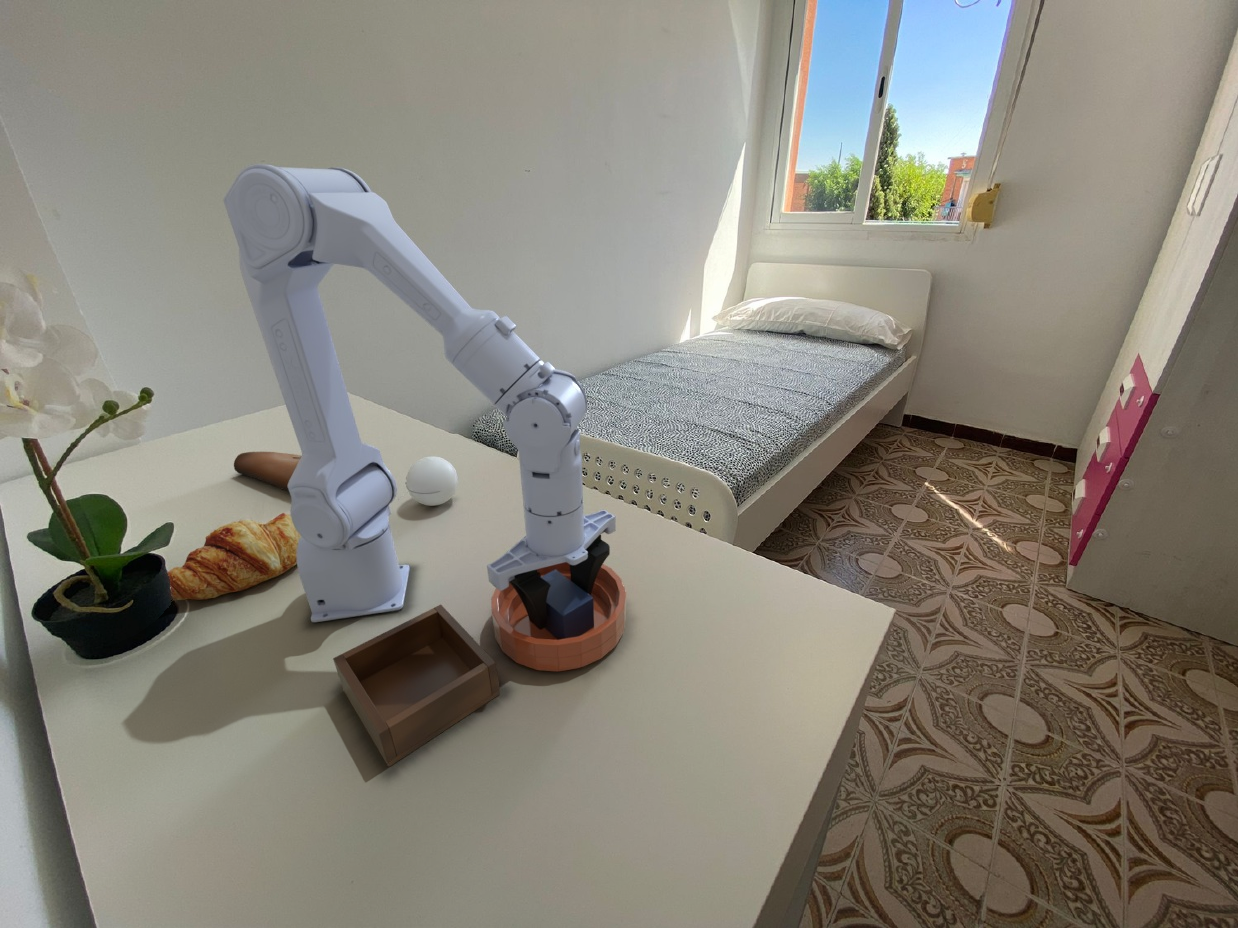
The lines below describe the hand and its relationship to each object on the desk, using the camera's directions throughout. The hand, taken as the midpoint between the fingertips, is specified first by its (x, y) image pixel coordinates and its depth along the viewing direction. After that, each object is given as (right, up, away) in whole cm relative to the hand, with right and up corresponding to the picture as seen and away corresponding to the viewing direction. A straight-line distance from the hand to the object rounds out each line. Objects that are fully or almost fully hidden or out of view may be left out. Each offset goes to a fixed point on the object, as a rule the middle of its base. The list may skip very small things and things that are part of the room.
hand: (560, 610), depth 58 cm
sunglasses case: (-47, +13, +31) cm, 57 cm away
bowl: (0, -2, +1) cm, 2 cm away
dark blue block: (0, -1, +1) cm, 1 cm away
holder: (-12, -6, -7) cm, 15 cm away
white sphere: (-22, +9, +23) cm, 33 cm away
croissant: (-38, +2, +10) cm, 39 cm away
